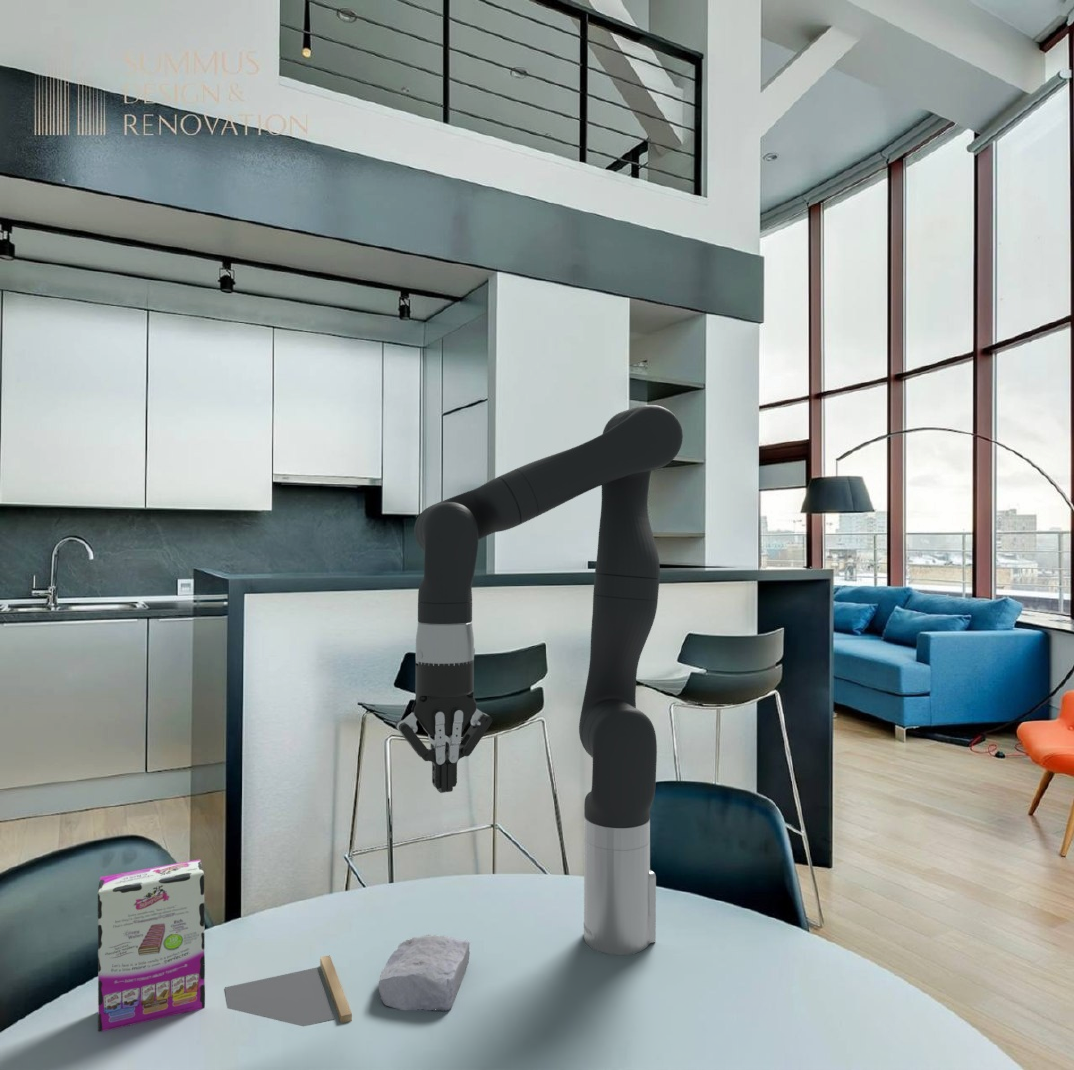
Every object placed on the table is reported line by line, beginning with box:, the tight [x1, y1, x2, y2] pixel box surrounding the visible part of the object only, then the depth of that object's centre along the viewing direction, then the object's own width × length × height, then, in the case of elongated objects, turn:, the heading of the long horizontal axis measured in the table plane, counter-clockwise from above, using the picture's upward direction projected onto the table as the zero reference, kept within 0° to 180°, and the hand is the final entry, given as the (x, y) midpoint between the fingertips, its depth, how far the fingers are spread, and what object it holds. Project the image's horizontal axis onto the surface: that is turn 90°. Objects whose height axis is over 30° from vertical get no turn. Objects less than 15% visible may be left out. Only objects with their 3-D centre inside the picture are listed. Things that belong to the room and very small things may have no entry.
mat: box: [224, 967, 335, 1027], centre depth 94 cm, size 11×12×1 cm
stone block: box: [378, 934, 471, 1012], centre depth 99 cm, size 12×5×10 cm
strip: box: [319, 955, 353, 1024], centre depth 97 cm, size 1×14×1 cm, turn 25°
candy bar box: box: [97, 858, 206, 1032], centre depth 92 cm, size 11×5×16 cm, turn 117°
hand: (444, 790), depth 103 cm, fingers closed
